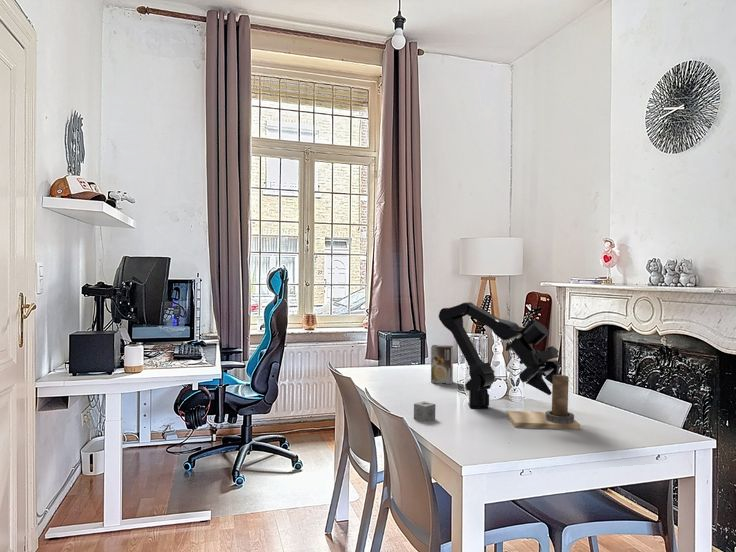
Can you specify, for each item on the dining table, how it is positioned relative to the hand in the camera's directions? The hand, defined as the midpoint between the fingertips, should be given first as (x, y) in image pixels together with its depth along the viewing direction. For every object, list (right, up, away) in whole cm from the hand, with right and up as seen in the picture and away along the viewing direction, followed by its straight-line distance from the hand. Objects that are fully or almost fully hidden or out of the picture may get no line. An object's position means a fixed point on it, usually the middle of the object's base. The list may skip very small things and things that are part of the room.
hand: (557, 392), depth 169 cm
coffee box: (-28, -10, +62) cm, 69 cm away
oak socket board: (-4, -10, +2) cm, 11 cm away
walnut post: (+1, -9, -1) cm, 9 cm away
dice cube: (-42, -10, +4) cm, 44 cm away
